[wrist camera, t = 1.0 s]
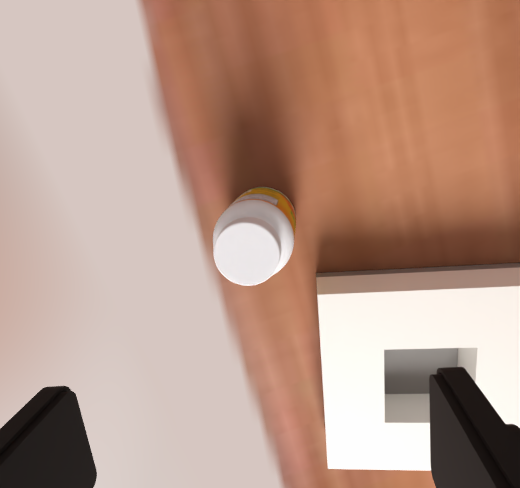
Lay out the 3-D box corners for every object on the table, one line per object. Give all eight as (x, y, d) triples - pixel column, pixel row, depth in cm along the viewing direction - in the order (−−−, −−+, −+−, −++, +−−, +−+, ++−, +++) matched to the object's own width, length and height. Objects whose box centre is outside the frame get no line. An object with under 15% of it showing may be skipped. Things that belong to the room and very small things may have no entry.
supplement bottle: (291, 254, 33) (285, 303, 23) (228, 244, 33) (198, 290, 24) (300, 190, 31) (298, 216, 22) (234, 181, 31) (204, 203, 22)
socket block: (315, 273, 33) (317, 294, 28) (520, 262, 31) (555, 284, 26) (325, 429, 37) (327, 468, 33) (504, 430, 35) (532, 472, 31)
